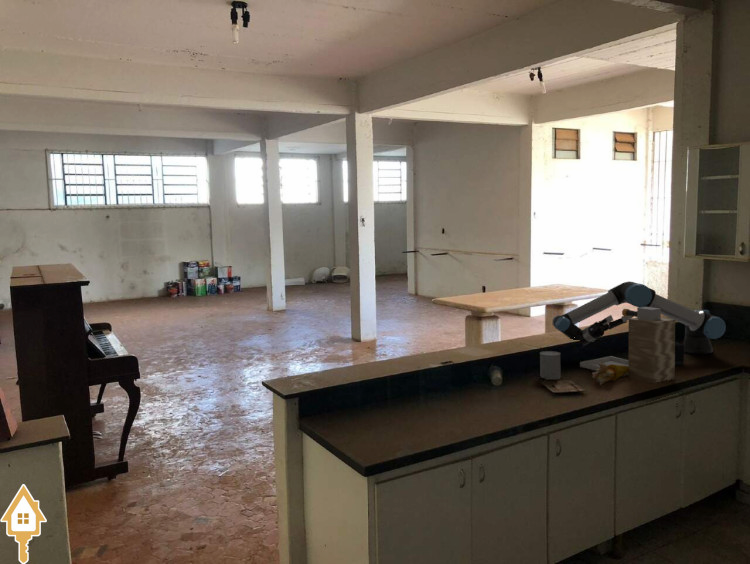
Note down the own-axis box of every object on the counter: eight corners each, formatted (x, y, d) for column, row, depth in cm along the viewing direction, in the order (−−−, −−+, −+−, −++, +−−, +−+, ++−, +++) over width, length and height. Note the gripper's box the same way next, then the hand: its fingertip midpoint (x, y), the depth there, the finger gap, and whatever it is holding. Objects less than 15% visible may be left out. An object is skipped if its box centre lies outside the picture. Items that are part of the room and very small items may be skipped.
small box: (684, 365, 303) (685, 344, 302) (671, 365, 303) (671, 345, 302) (674, 360, 314) (674, 340, 313) (662, 360, 314) (662, 341, 313)
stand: (649, 372, 292) (649, 315, 290) (674, 378, 280) (675, 319, 277) (628, 376, 286) (628, 318, 283) (653, 383, 274) (654, 322, 271)
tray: (611, 360, 318) (611, 356, 318) (651, 370, 296) (651, 365, 296) (580, 366, 309) (580, 362, 308) (619, 377, 286) (619, 372, 286)
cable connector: (629, 315, 295) (629, 304, 295) (660, 320, 279) (660, 308, 279) (620, 316, 293) (620, 305, 292) (651, 321, 277) (651, 309, 276)
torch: (629, 383, 287) (598, 386, 272) (616, 372, 293) (585, 375, 278) (637, 369, 284) (607, 372, 269) (624, 359, 289) (593, 361, 275)
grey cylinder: (560, 381, 284) (560, 355, 283) (539, 380, 287) (539, 355, 286) (561, 376, 293) (560, 351, 292) (540, 375, 296) (540, 350, 295)
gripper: (614, 335, 317) (643, 320, 299) (578, 341, 306) (606, 326, 288) (608, 322, 319) (636, 306, 302) (572, 328, 309) (600, 311, 291)
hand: (622, 316), depth 295 cm, fingers open, 13 cm apart
